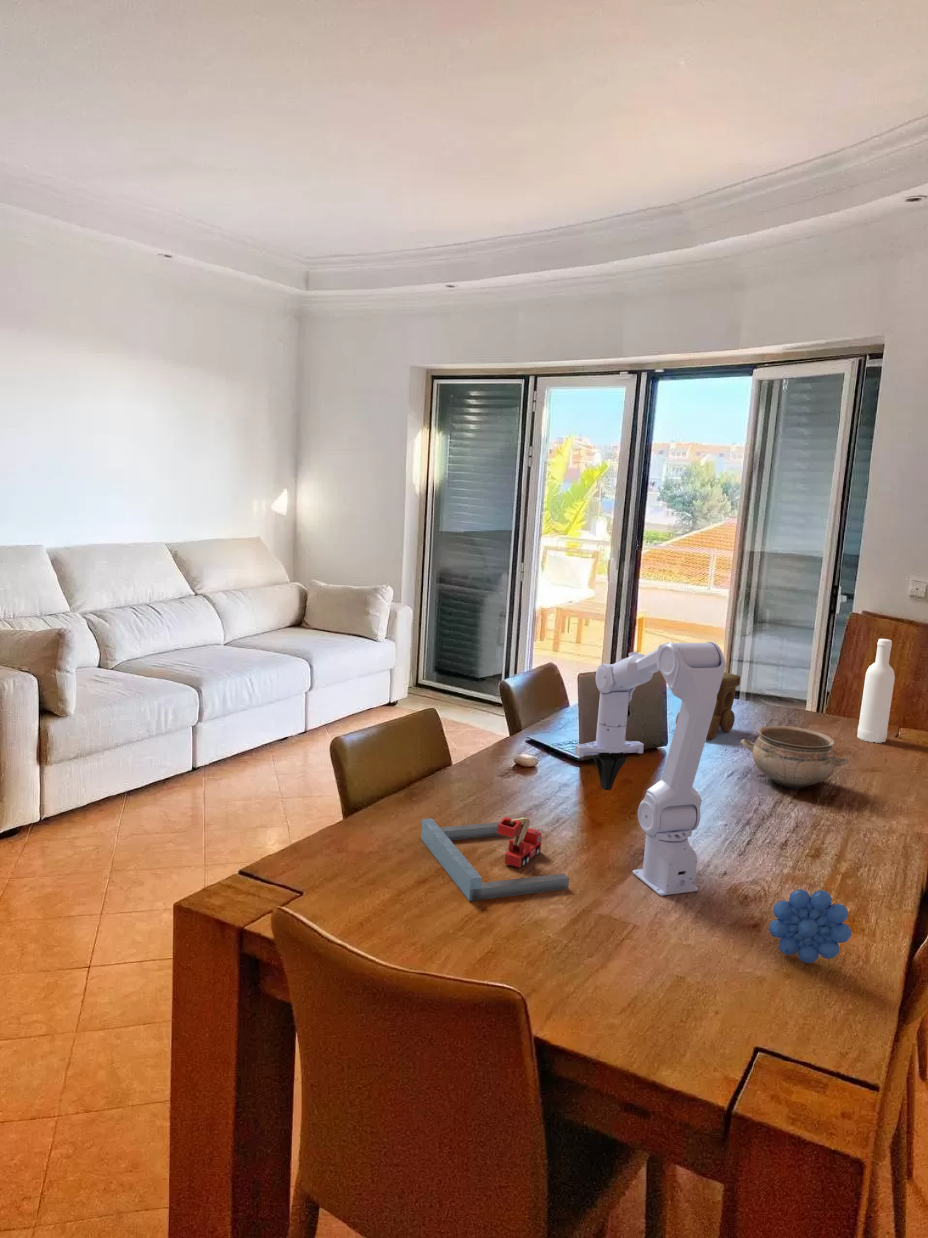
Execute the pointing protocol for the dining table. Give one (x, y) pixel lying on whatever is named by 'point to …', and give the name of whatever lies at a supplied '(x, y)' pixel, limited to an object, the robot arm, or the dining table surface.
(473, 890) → the garage
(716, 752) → the dining table surface
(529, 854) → the toy fire truck
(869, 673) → the bottle
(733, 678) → the wooden toy train
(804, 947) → the blue beaded flower
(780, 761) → the cooking pot
